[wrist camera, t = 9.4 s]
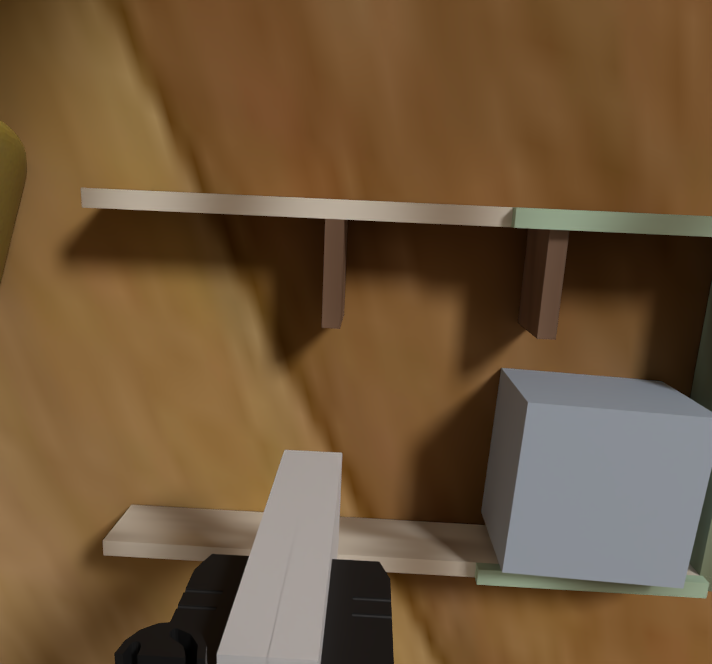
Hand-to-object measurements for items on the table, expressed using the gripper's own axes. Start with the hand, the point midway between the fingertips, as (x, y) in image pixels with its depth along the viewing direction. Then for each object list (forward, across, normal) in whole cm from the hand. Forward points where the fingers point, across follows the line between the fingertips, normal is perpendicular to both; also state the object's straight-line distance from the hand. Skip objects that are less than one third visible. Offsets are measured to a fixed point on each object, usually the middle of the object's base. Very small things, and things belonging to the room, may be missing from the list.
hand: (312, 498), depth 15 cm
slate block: (+7, +9, -2) cm, 12 cm away
